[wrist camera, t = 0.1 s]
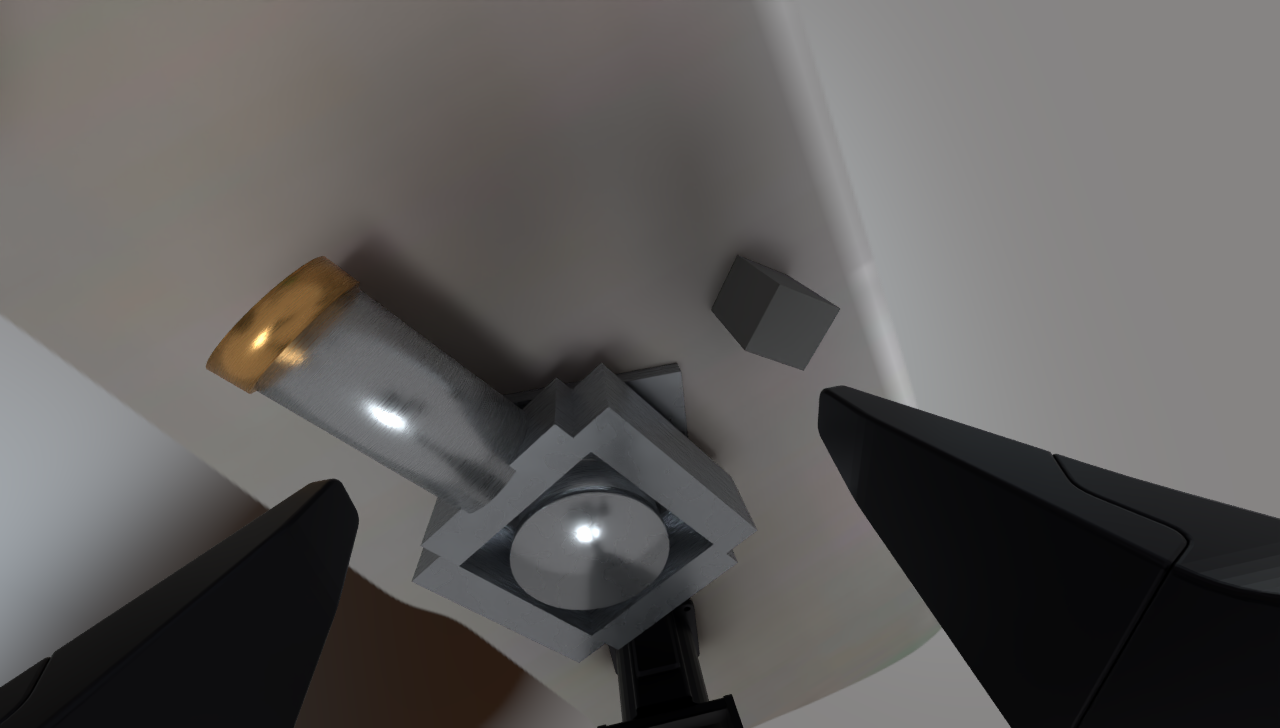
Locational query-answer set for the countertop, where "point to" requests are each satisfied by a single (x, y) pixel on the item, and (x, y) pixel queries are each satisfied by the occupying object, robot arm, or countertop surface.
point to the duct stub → (596, 519)
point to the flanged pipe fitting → (482, 451)
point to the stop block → (773, 313)
